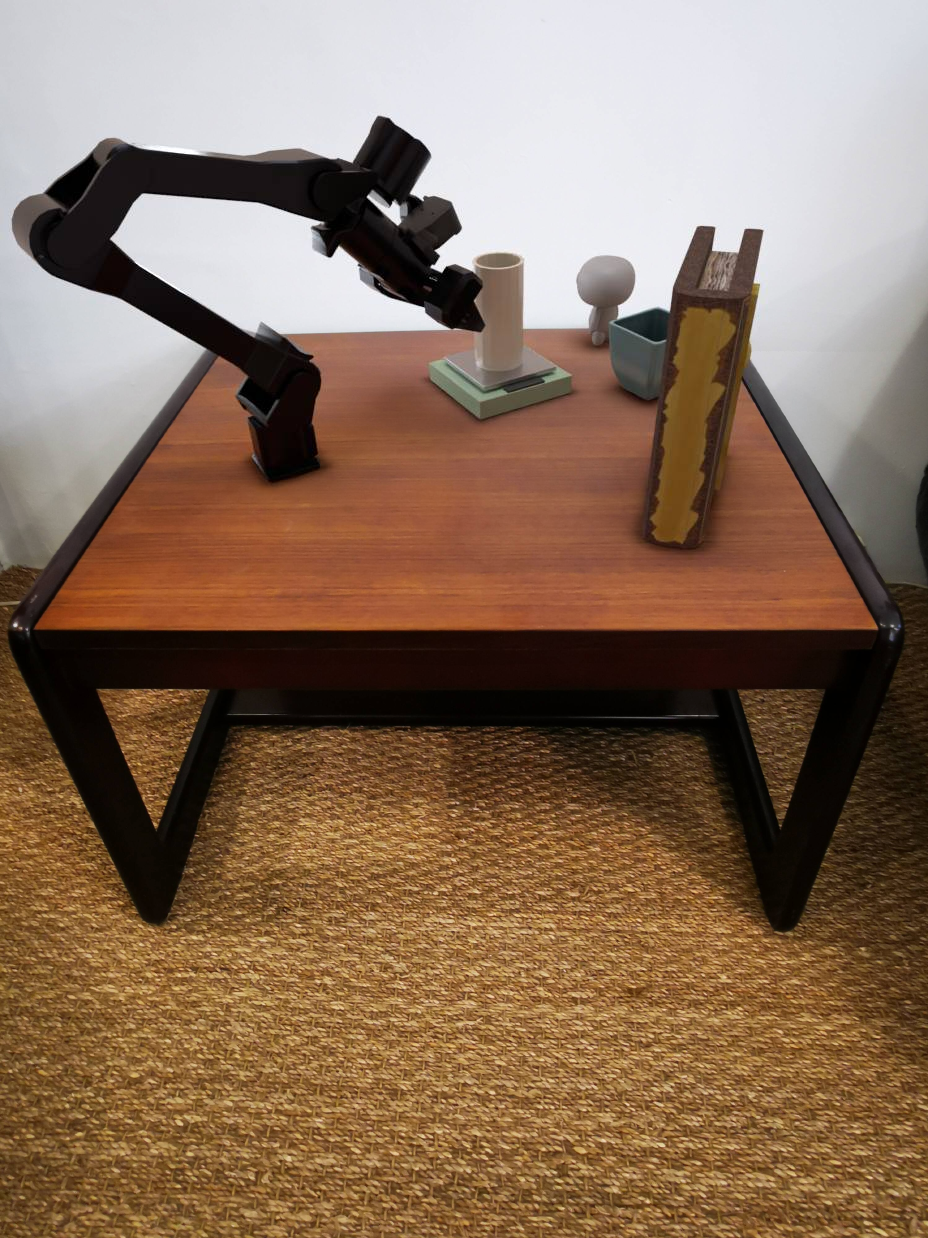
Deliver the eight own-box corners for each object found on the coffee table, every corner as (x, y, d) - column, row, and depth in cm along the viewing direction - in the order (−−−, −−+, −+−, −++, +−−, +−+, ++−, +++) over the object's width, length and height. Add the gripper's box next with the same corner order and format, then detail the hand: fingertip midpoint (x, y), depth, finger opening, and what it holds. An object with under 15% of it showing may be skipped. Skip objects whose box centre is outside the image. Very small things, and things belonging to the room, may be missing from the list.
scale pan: (484, 391, 105) (484, 386, 104) (443, 360, 112) (443, 356, 112) (556, 370, 109) (556, 366, 108) (512, 342, 116) (512, 338, 116)
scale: (480, 419, 105) (479, 399, 103) (429, 379, 115) (428, 360, 113) (571, 392, 110) (572, 372, 108) (515, 356, 120) (515, 337, 118)
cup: (520, 372, 107) (521, 268, 99) (472, 370, 108) (469, 268, 100) (524, 351, 112) (525, 251, 103) (478, 350, 113) (475, 251, 104)
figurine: (593, 328, 126) (599, 245, 118) (637, 339, 123) (646, 254, 115) (564, 346, 122) (568, 261, 114) (609, 358, 118) (616, 271, 110)
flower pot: (696, 392, 109) (707, 325, 103) (647, 412, 105) (656, 343, 99) (649, 370, 115) (657, 305, 109) (601, 387, 111) (606, 321, 105)
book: (712, 553, 82) (763, 301, 66) (627, 539, 85) (656, 293, 68) (731, 446, 98) (777, 221, 82) (659, 437, 100) (689, 216, 84)
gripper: (466, 192, 84) (545, 279, 95) (370, 161, 95) (452, 242, 107) (407, 289, 85) (492, 363, 97) (320, 247, 97) (405, 317, 109)
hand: (460, 317), depth 103 cm, fingers open, 9 cm apart
